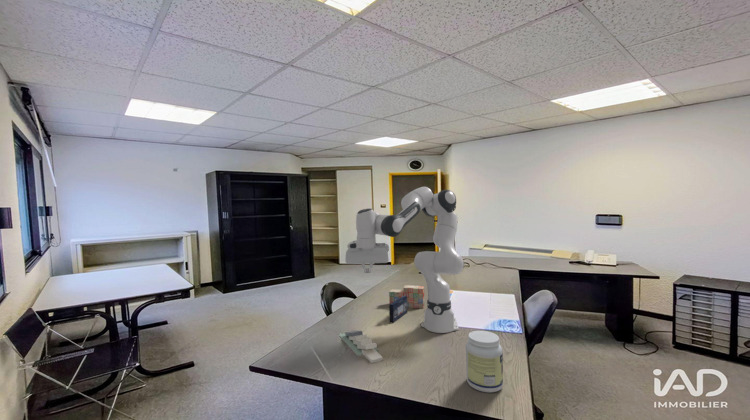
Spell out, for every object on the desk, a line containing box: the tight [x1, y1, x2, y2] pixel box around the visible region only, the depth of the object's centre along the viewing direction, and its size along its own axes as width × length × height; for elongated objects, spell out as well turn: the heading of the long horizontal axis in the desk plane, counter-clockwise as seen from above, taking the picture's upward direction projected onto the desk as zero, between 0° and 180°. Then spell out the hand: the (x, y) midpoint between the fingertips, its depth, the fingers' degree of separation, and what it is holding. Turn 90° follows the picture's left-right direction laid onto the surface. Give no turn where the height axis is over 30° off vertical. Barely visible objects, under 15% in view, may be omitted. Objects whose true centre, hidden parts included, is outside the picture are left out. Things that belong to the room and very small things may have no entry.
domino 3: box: [353, 338, 373, 345], centre depth 141 cm, size 2×5×10 cm
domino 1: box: [344, 330, 364, 337], centre depth 150 cm, size 2×5×10 cm
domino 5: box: [362, 348, 384, 364], centre depth 132 cm, size 2×5×10 cm
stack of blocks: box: [388, 284, 425, 309], centre depth 198 cm, size 21×6×12 cm, turn 75°
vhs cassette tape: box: [388, 296, 408, 324], centre depth 178 cm, size 18×3×10 cm, turn 148°
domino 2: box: [349, 334, 368, 341], centre depth 146 cm, size 2×5×10 cm
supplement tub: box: [465, 330, 504, 393], centre depth 111 cm, size 12×12×17 cm
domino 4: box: [357, 342, 378, 350], centre depth 137 cm, size 2×5×10 cm
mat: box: [338, 329, 379, 357], centre depth 147 cm, size 25×10×1 cm, turn 26°
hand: (367, 272), depth 149 cm, fingers closed
